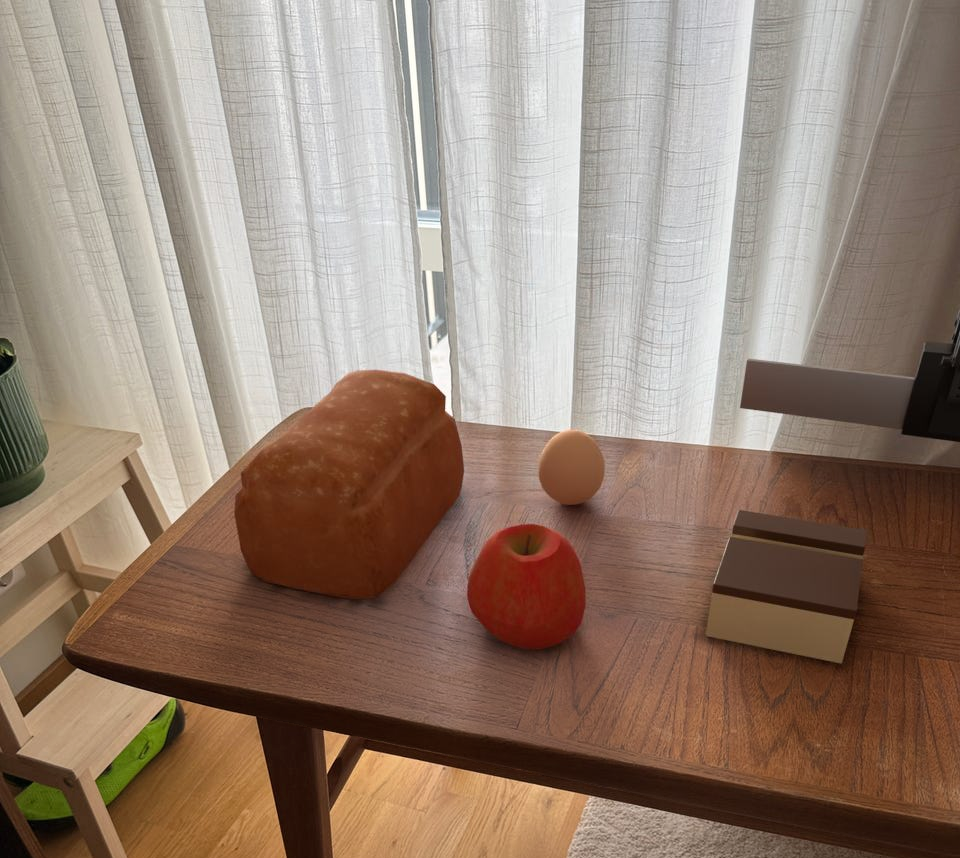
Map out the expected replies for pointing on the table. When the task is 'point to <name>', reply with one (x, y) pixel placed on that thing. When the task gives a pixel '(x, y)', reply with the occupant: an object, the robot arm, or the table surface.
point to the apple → (528, 587)
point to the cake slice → (800, 534)
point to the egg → (571, 467)
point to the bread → (351, 487)
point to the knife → (851, 393)
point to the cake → (785, 599)
